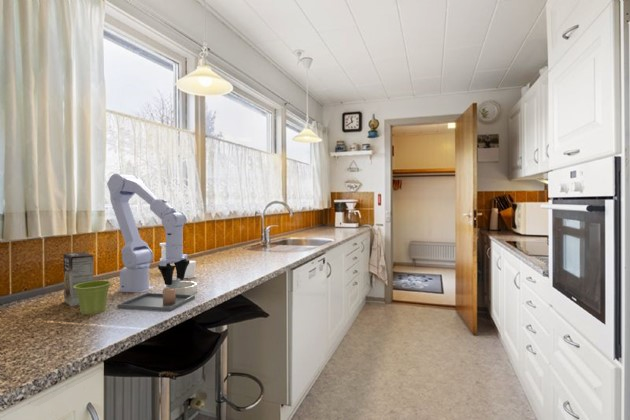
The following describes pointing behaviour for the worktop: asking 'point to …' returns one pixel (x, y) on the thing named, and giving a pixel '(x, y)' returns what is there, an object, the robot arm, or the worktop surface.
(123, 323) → the worktop surface
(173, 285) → the grey rounded cylinder
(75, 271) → the coffee box
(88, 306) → the plant pot
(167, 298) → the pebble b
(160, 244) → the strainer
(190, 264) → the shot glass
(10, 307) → the worktop surface
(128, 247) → the robot arm
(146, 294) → the tray
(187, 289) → the bowl
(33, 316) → the worktop surface
